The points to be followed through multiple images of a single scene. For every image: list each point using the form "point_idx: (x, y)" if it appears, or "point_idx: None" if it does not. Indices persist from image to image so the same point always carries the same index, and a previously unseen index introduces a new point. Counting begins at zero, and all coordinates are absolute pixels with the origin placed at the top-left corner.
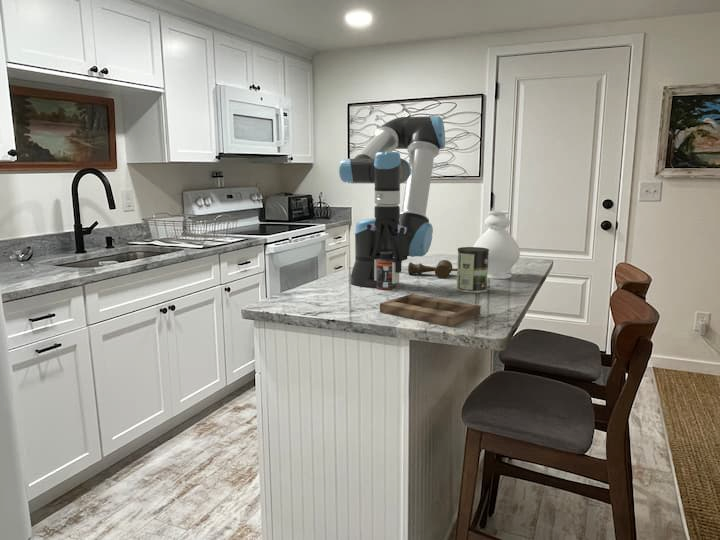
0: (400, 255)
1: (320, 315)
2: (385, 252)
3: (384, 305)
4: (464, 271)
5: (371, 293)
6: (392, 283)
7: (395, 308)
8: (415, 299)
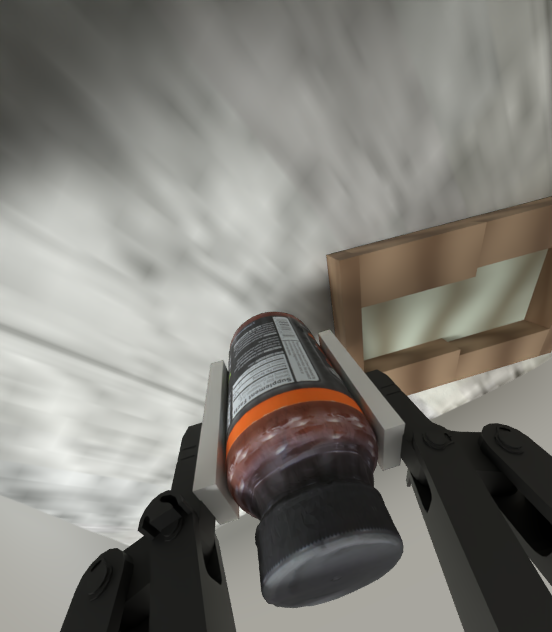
0: (513, 519)
1: None
2: (328, 586)
3: None
4: None
5: (113, 289)
6: None
7: None
8: (391, 298)
